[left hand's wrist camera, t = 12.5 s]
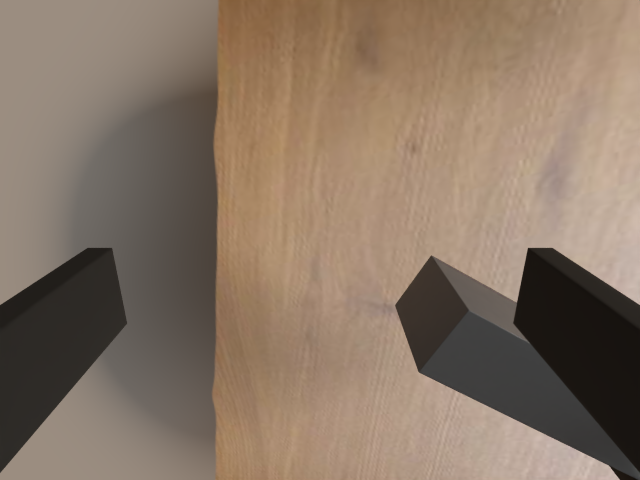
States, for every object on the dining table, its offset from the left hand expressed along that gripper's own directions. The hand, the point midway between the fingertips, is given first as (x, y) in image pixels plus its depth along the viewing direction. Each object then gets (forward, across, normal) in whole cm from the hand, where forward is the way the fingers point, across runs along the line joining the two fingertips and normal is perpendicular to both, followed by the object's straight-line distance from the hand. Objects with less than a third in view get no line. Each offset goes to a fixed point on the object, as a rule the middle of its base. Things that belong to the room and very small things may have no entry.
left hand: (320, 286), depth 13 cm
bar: (+17, +19, -15) cm, 29 cm away
